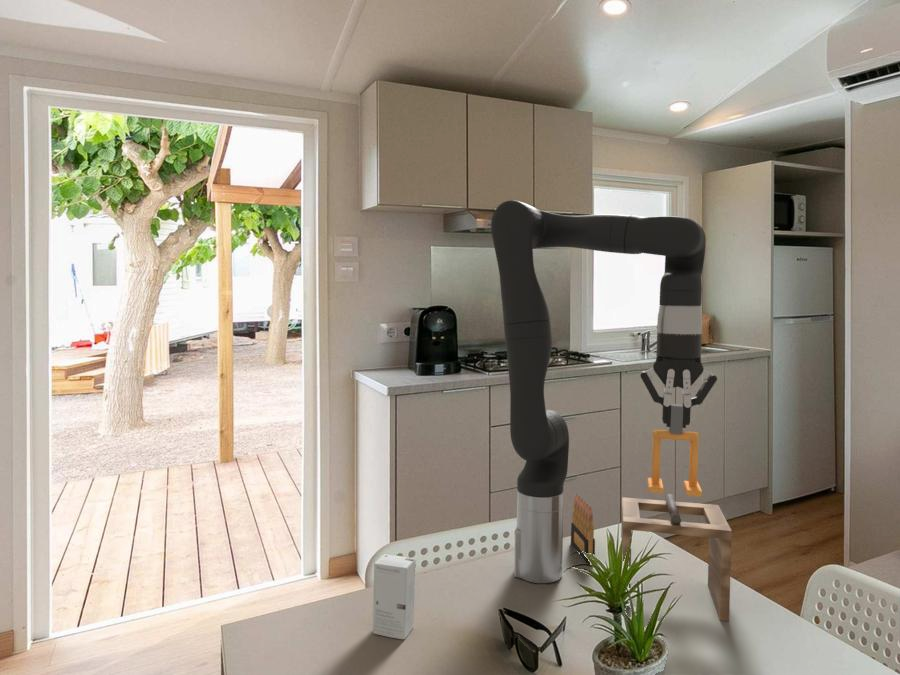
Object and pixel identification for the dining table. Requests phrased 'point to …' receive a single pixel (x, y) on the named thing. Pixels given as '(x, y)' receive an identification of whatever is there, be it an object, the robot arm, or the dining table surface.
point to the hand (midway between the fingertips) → (675, 426)
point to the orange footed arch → (675, 434)
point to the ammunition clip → (582, 528)
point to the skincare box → (394, 596)
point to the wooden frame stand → (713, 529)
